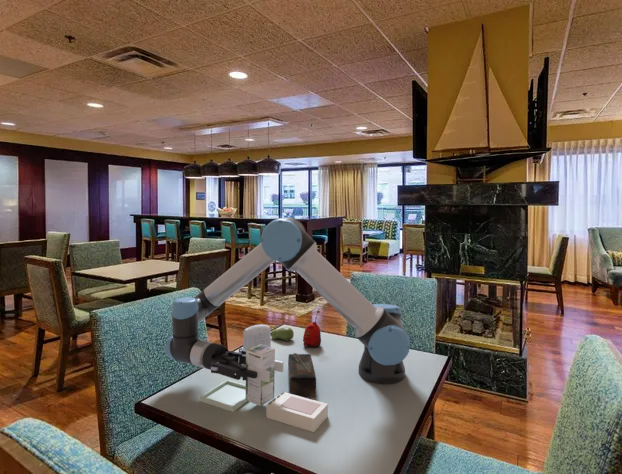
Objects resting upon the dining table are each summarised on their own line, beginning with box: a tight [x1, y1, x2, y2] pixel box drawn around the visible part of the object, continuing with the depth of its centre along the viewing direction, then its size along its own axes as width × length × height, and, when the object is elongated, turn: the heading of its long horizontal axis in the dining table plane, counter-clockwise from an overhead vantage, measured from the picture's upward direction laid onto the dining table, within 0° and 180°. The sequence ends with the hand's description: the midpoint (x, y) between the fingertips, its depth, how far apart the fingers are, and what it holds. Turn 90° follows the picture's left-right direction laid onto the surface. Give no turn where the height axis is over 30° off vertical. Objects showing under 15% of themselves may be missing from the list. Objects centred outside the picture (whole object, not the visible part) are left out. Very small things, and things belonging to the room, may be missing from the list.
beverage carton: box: [287, 352, 317, 398], centre depth 122 cm, size 8×19×7 cm, turn 5°
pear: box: [271, 327, 295, 342], centre depth 160 cm, size 6×5×10 cm
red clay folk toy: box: [302, 309, 322, 348], centre depth 153 cm, size 8×7×15 cm
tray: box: [198, 379, 248, 413], centre depth 113 cm, size 12×12×1 cm
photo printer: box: [242, 323, 272, 350], centre depth 140 cm, size 10×4×12 cm, turn 123°
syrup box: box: [245, 344, 276, 407], centre depth 107 cm, size 6×6×14 cm
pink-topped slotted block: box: [265, 391, 329, 433], centre depth 102 cm, size 14×8×4 cm, turn 62°
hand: (275, 371), depth 104 cm, fingers closed on syrup box, 6 cm apart
